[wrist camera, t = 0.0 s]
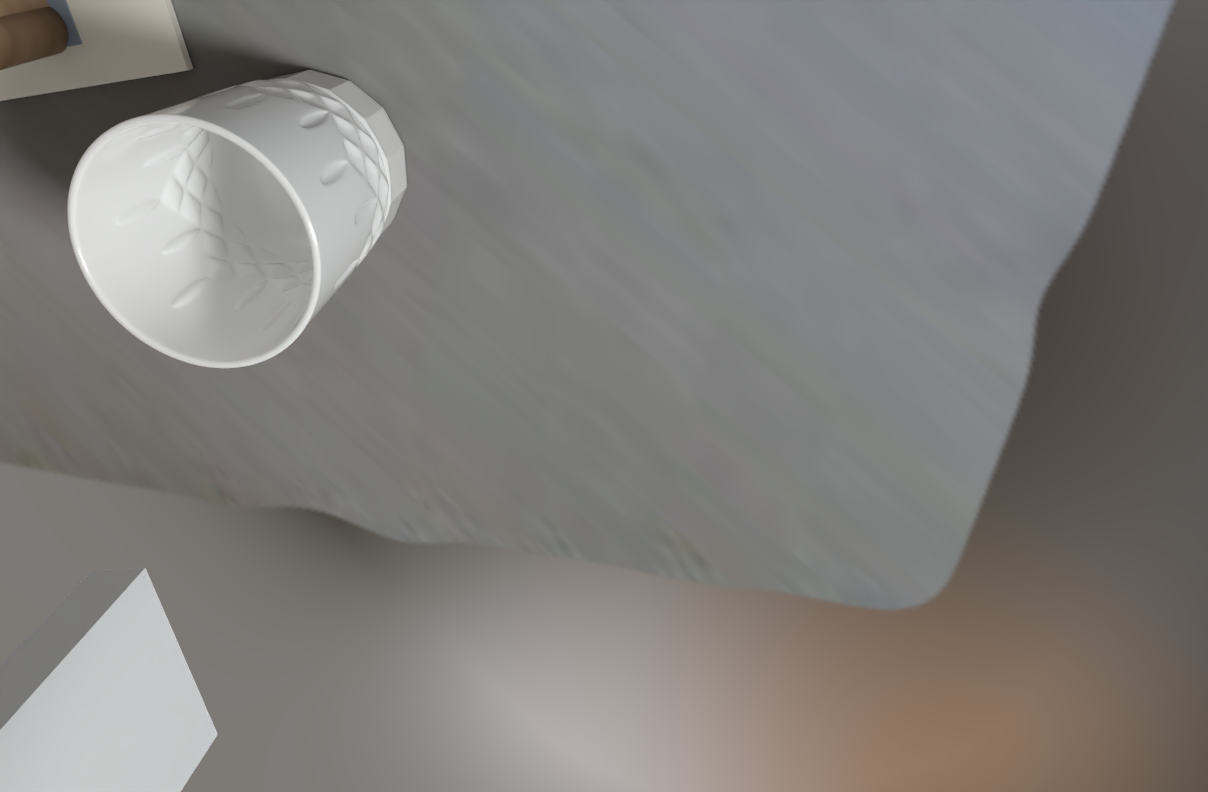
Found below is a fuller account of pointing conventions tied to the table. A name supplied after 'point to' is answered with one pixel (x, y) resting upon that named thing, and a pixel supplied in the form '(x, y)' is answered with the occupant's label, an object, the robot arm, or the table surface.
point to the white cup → (235, 213)
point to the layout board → (104, 47)
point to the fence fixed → (29, 32)
